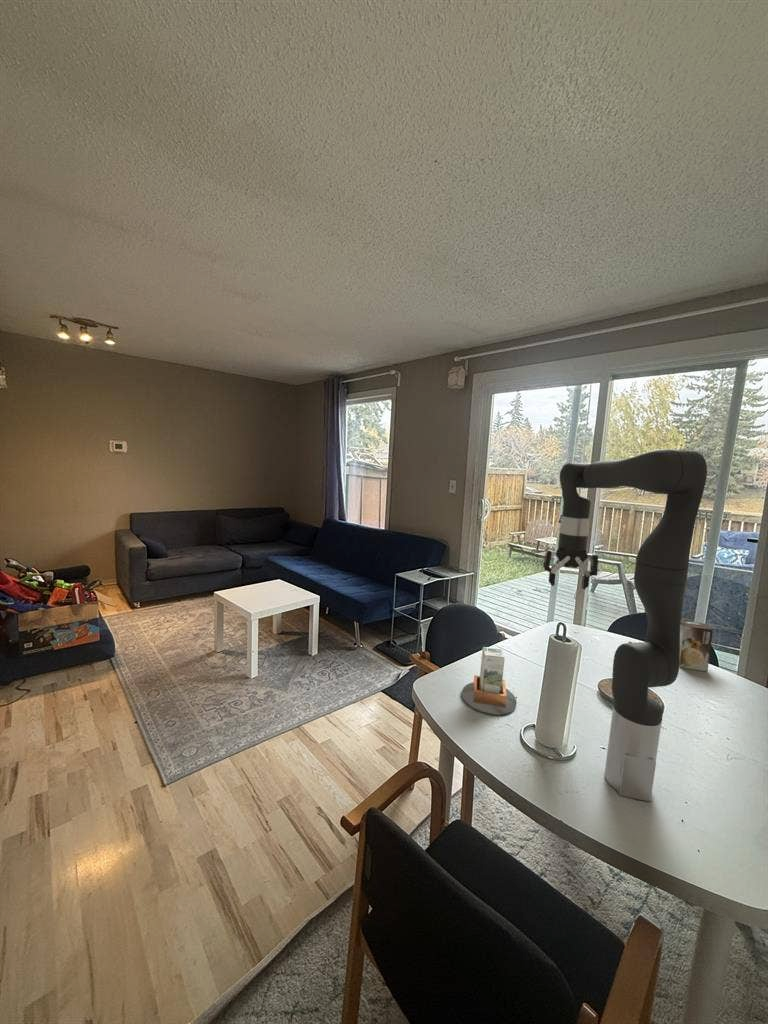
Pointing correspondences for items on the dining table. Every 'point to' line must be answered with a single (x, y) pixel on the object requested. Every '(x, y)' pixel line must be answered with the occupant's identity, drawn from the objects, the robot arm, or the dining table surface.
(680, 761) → the dining table surface
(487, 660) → the syrup box
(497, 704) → the rosette socket
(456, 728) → the dining table surface
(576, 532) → the robot arm
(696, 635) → the coffee box
